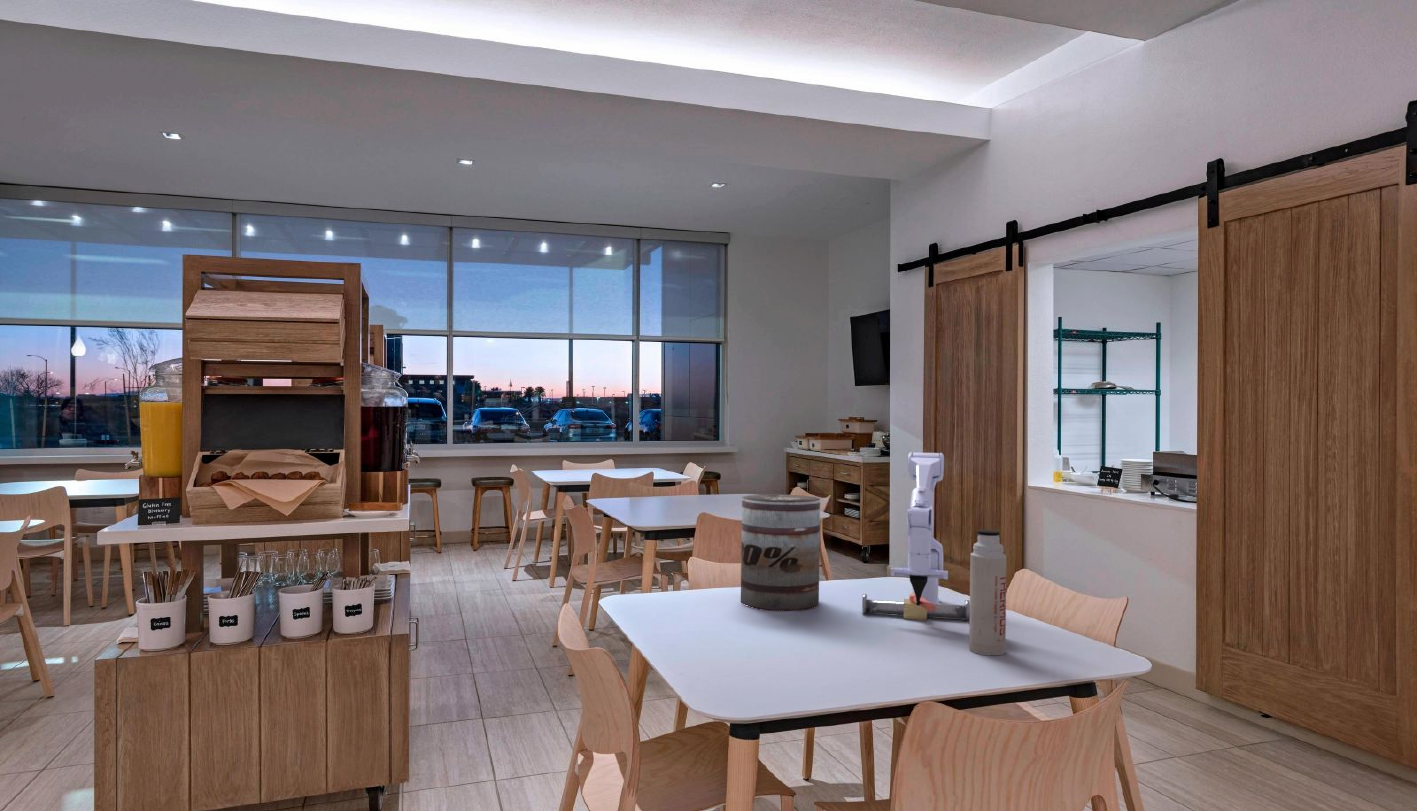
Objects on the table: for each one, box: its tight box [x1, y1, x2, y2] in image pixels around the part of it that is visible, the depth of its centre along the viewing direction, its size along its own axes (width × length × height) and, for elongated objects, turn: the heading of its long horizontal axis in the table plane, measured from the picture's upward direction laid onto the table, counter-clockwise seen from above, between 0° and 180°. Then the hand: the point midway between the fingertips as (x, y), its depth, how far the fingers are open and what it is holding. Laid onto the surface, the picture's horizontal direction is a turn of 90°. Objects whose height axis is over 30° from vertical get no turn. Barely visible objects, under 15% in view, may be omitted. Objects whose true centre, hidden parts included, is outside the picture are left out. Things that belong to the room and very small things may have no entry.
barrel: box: [740, 493, 821, 612], centre depth 248 cm, size 22×22×30 cm
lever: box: [908, 593, 936, 611], centre depth 228 cm, size 14×3×1 cm, turn 7°
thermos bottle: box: [968, 529, 1007, 656], centre depth 200 cm, size 8×8×28 cm
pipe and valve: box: [861, 593, 970, 621], centre depth 233 cm, size 6×28×5 cm, turn 77°
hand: (918, 604), depth 226 cm, fingers closed, pressing on lever
